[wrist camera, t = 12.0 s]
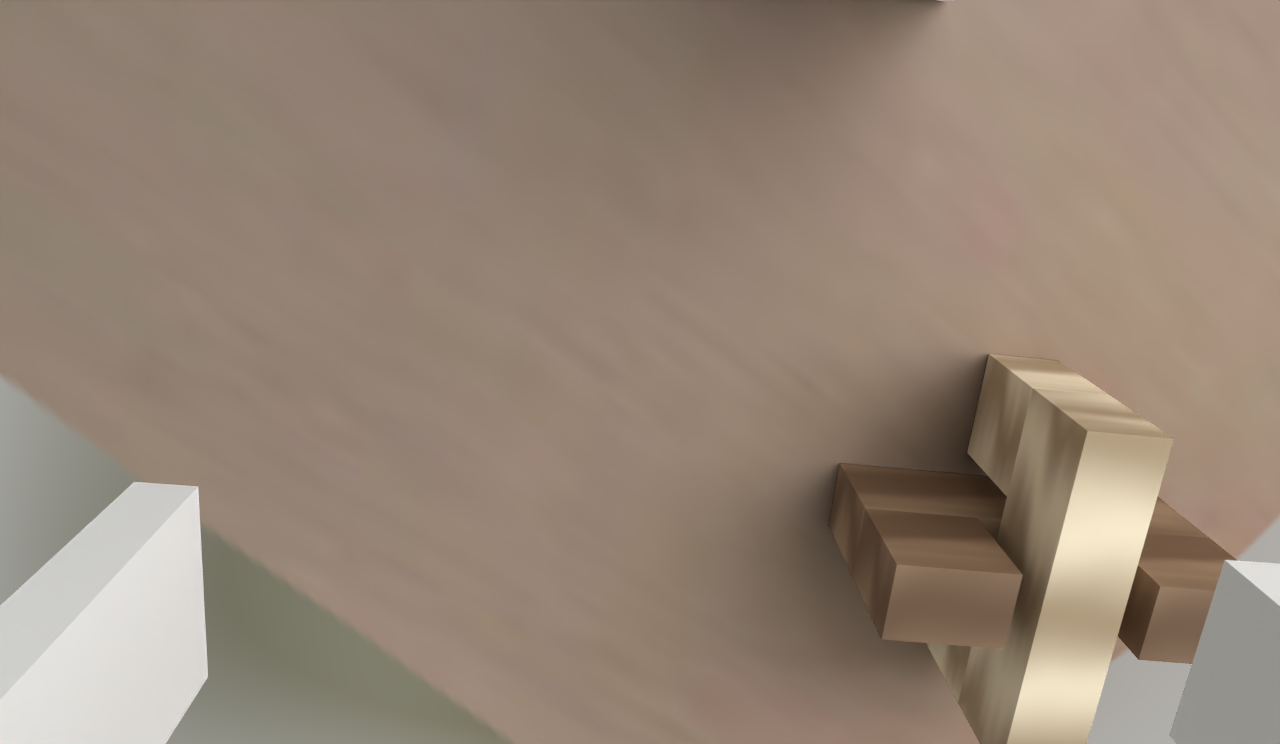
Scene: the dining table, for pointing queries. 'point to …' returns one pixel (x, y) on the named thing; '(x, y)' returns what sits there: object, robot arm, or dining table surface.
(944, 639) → the slotted base
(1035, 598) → the cross plate
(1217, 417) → the dining table surface
